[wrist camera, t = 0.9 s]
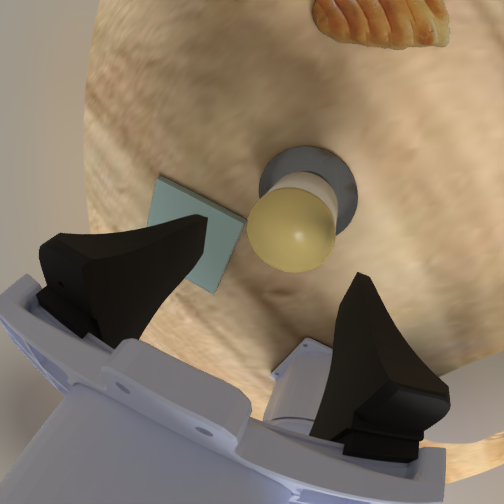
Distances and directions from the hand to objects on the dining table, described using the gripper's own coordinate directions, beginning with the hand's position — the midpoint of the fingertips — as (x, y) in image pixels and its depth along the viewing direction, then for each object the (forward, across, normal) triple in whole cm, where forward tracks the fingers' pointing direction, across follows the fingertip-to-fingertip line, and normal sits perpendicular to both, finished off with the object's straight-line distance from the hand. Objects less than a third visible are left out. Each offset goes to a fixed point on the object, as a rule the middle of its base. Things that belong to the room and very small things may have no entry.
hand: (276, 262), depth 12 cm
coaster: (+10, +9, +8) cm, 16 cm away
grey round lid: (+10, 0, 0) cm, 10 cm away
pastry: (+10, -2, -16) cm, 19 cm away
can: (+8, 0, 0) cm, 8 cm away
